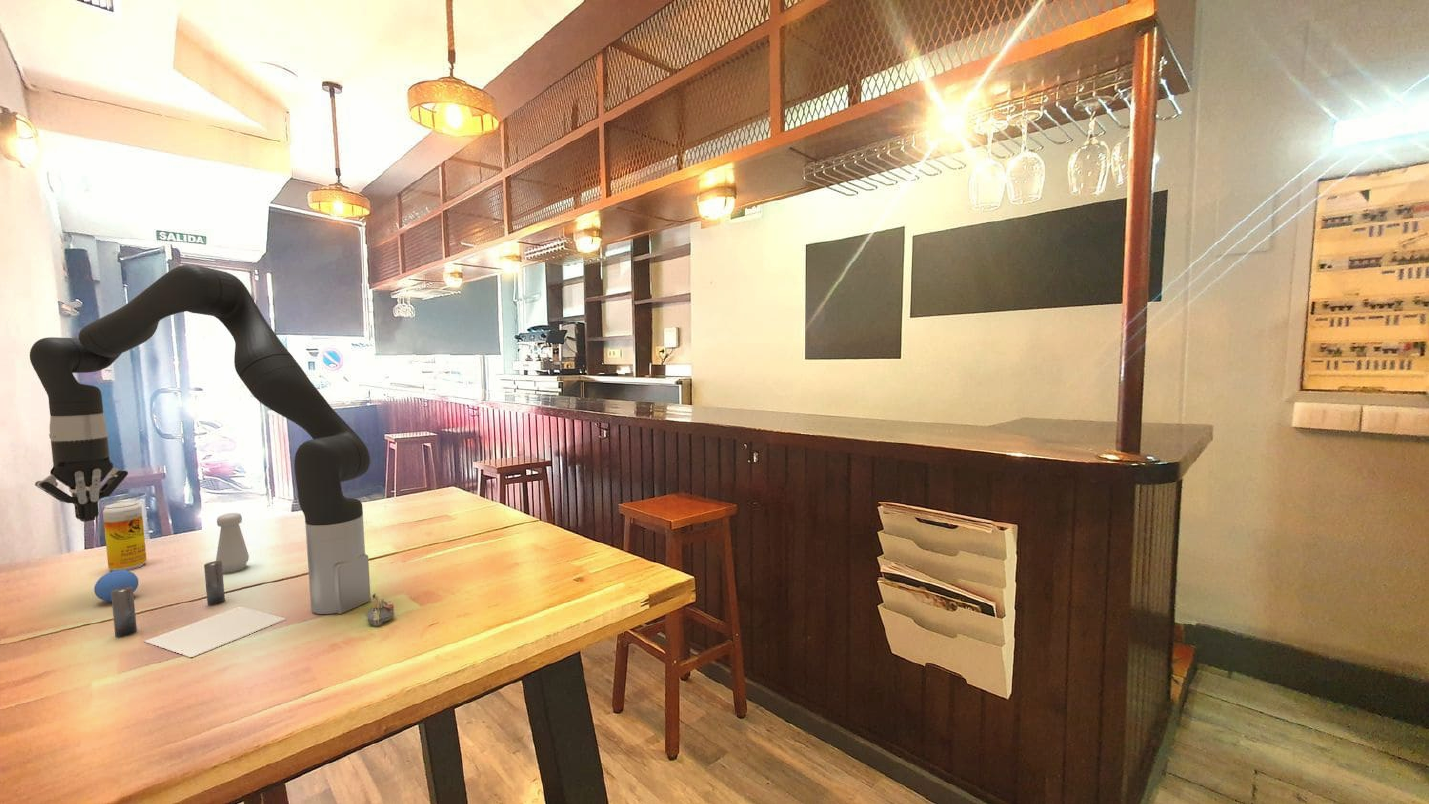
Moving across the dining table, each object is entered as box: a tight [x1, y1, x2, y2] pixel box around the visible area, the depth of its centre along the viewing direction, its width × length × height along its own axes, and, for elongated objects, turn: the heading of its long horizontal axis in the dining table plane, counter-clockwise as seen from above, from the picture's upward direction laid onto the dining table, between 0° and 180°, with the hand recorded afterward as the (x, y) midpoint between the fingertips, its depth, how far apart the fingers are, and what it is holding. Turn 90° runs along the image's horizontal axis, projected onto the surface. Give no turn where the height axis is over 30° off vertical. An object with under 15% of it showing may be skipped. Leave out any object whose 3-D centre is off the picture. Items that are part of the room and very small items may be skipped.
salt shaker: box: [215, 512, 250, 574], centre depth 125 cm, size 6×6×13 cm
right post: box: [203, 560, 226, 606], centre depth 108 cm, size 3×3×8 cm
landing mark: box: [143, 605, 287, 658], centre depth 97 cm, size 14×14×1 cm
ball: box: [93, 570, 139, 603], centre depth 110 cm, size 6×6×6 cm
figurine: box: [365, 593, 395, 627], centre depth 100 cm, size 5×4×6 cm
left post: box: [111, 587, 138, 638], centre depth 96 cm, size 3×3×8 cm
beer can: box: [102, 500, 147, 572], centre depth 127 cm, size 6×6×15 cm
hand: (88, 520), depth 112 cm, fingers closed
